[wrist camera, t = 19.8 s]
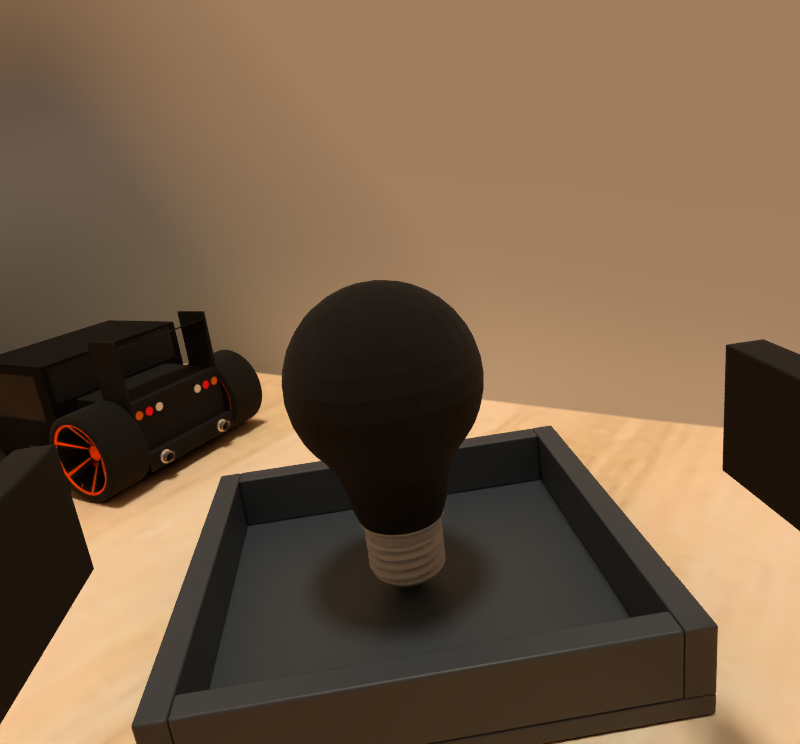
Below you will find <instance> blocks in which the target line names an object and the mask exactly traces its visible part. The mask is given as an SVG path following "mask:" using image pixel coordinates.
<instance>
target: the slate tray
mask: <svg viewBox="0 0 800 744" xmlns="http://www.w3.org/2000/svg"><path fill="white" fill-rule="evenodd" d="M441 521H442V529H443V538H444V547H445V563H444V565H443V567H442V569H441V570H440V571H439V572H438V573H437V574H436V575H435V576H434V577H433V578H431V579H430V580H428V581H426V582H424V583H423V584H421V585H420V586H419V587H417V588H414V589H404V588H401V587H399V586H394V585H390V584H387V583H385V582H383V581H381V580H380V579H378V578H377V577H376V575H375V574H374V572H373V571H372V570H371V568H370V564H369V561H370V560H369V558H368V550H367V542H366V539H365V536H366V533H365V531H364V528H362V527H361V525H360V522H359V520H358V519H357V517H356V515H355V513H354V511H353V510H352V508H351V505H350V502H349V499H348V497H347V494H346V491H345V489H344V487H343V485H342V484H341V482H340V480H339V479H338V477H337V475H336V474H335V473H334V472H333V471H332V470H331V469H330V468H329V467H328V466H327V465H326V464H325V463H324V462H322V461H319V462H312V463H306V464H299V465H293V466H286V467H280V468H273V469H267V470H260V471H254V472H247V473H242V474H234V475H227V476H222V477H221V479H220V482H219V485H218V488H217V490H216V493H215V496H214V499H213V501H212V504H211V507H210V510H209V513H208V515H207V518H206V521H205V524H204V526H203V529H202V532H201V535H200V538H199V540H198V543H197V546H196V549H195V551H194V554H193V557H192V560H191V562H190V565H189V568H188V571H187V574H186V576H185V579H184V582H183V585H182V587H181V590H180V593H179V596H178V599H177V601H176V604H175V607H174V610H173V612H172V615H171V618H170V621H169V624H168V626H167V629H166V632H165V635H164V637H163V640H162V643H161V646H160V648H159V651H158V654H157V657H156V660H155V662H154V665H153V668H152V671H151V673H150V676H149V679H148V682H147V685H146V687H145V690H144V693H143V696H142V698H141V701H140V704H139V707H138V710H137V712H136V715H135V718H134V721H133V723H132V731H133V734H134V737H135V740H136V744H543V743H549V742H554V741H560V740H565V739H571V738H576V737H582V736H588V735H593V734H599V733H604V732H610V731H616V730H621V729H627V728H632V727H638V726H643V725H649V724H655V723H660V722H666V721H671V720H677V719H682V718H688V717H694V716H699V715H705V714H710V713H714V712H715V707H716V694H715V693H716V671H717V635H718V626H717V624H716V623H715V622H714V621H713V620H712V618H711V617H710V616H709V615H708V614H707V612H706V611H705V610H704V609H703V608H702V606H701V605H700V604H699V603H698V602H697V600H696V599H695V598H694V597H693V596H692V594H691V593H690V592H689V591H688V590H687V588H686V587H685V586H684V585H683V584H682V582H681V581H680V580H679V579H678V578H677V576H676V575H675V574H674V573H673V572H672V570H671V569H670V568H669V567H668V566H667V564H666V563H665V562H664V561H663V560H662V558H661V557H660V556H659V555H658V553H657V552H656V551H655V550H654V549H653V547H652V546H651V545H650V544H649V543H648V541H647V540H646V539H645V538H644V537H643V535H642V534H641V533H640V532H639V531H638V529H637V528H636V527H635V526H634V525H633V523H632V522H631V521H630V520H629V519H628V517H627V516H626V515H625V514H624V513H623V511H622V510H621V509H620V508H619V507H618V505H617V504H616V503H615V502H614V501H613V499H612V498H611V497H610V496H609V495H608V493H607V492H606V491H605V490H604V489H603V487H602V486H601V485H600V484H599V483H598V481H597V480H596V479H595V478H594V477H593V475H592V474H591V473H590V472H589V471H588V469H587V468H586V467H585V466H584V465H583V463H582V462H581V461H580V460H579V459H578V457H577V456H576V455H575V454H574V453H573V451H572V450H571V449H570V448H569V447H568V445H567V444H566V443H565V442H564V441H563V439H562V438H561V437H560V436H559V435H558V433H557V432H556V431H555V430H554V429H553V427H552V426H545V427H539V428H533V429H527V430H520V431H514V432H507V433H501V434H494V435H488V436H481V437H475V438H468V439H464V441H463V443H462V444H461V445H460V447H459V448H458V450H457V452H456V454H455V456H454V458H453V460H452V463H451V467H450V472H449V482H448V493H447V498H446V502H445V506H444V514H443V515H442V517H441Z"/></svg>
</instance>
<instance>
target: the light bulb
mask: <svg viewBox="0 0 800 744" xmlns="http://www.w3.org/2000/svg"><path fill="white" fill-rule="evenodd" d="M282 390H283V398H284V405H285V408H286V410H287V413H288V416H289V418H290V421H291V424H292V426H293V428H294V430H295V431H296V433H297V434H298V436H299V437H300V439H301V440H302V442H303V443H304V445H305V446H306V447H307V448H308V449H309V450H310V451H311V452H312V453H313V454H314V455H315V456H316V457H317V458H318V459H320V460H321V461H322V462H324V463H325V464H326V465H327V466H328V467H329V468H330V469H331V470H332V471H333V472H334V473H335V474H336V475H337V477H338V479H339V480H340V482H341V484H342V485H343V487H344V489H345V491H346V494H347V497H348V499H349V502H350V505H351V508H352V510H353V511H354V513H355V515H356V517H357V519H358V520H359V522H360V525H361V527H362V528H364V531H365V533H366V536H365V539H366V542H367V550H368V558H369V560H370V561H369V564H370V568H371V570H372V571H373V572H374V574H375V575H376V577H377V578H378V579H380V580H381V581H383V582H385V583H387V584H390V585H394V586H399V587H401V588H404V589H414V588H417V587H419V586H420V585H421V584H423V583H424V582H426V581H428V580H430V579H431V578H433V577H434V576H435V575H436V574H437V573H438V572H439V571H440V570H441V569H442V567H443V565H444V563H445V547H444V538H443V529H442V521H441V517H442V515H443V514H444V506H445V502H446V498H447V493H448V482H449V472H450V467H451V463H452V460H453V458H454V456H455V454H456V452H457V450H458V448H459V447H460V445H461V444H462V443H463V441H464V439H465V438H466V436H467V435H468V433H469V431H470V430H471V428H472V426H473V425H474V423H475V421H476V418H477V415H478V412H479V409H480V405H481V400H482V394H483V367H482V361H481V356H480V353H479V350H478V348H477V345H476V342H475V340H474V337H473V335H472V333H471V332H470V330H469V328H468V326H467V325H466V323H465V322H464V321H463V320H462V318H461V317H460V316H459V315H458V314H457V312H456V311H455V310H454V309H453V308H452V307H450V305H448V304H447V303H446V302H445V301H443V300H442V299H441V298H440V297H438V296H436V295H434V294H433V293H431V292H429V291H427V290H425V289H423V288H420V287H418V286H415V285H412V284H409V283H404V282H400V281H388V280H373V281H367V282H362V283H356V284H353V285H350V286H348V287H345V288H342V289H340V290H338V291H336V292H334V293H333V294H331V295H329V296H327V297H326V298H325V299H323V300H322V301H321V302H320V303H319V304H317V305H316V306H315V307H314V308H313V309H312V310H310V311H309V313H308V314H307V315H306V316H305V317H304V318H303V320H302V321H301V323H300V325H299V326H298V328H297V329H296V331H295V332H294V335H293V336H292V339H291V341H290V343H289V346H288V348H287V350H286V355H285V359H284V364H283V370H282Z"/></svg>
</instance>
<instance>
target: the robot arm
mask: <svg viewBox="0 0 800 744" xmlns="http://www.w3.org/2000/svg"><path fill="white" fill-rule="evenodd" d="M723 471H725V472H726V473H727V474H728V475H730V476H731V477H732V478H733V479H735V480H736V481H737V482H738V483H740V484H741V485H742V486H744V487H745V488H746V489H747V490H749V491H750V492H751V493H752V494H754V495H755V496H756V497H757V498H759V499H760V500H761V501H762V502H764V503H765V504H766V505H767V506H769V507H770V508H771V509H773V510H774V511H775V512H776V513H778V514H779V515H780V516H781V517H783V518H784V519H785V520H786V521H788V522H789V523H790V524H791V525H793V526H794V527H795V528H796V529H798V530H799V531H800V354H797V353H795V352H792V351H790V350H788V349H785V348H783V347H780V346H778V345H775V344H773V343H770V342H768V341H766V340H756V341H749V342H742V343H736V344H729V345H726V365H725V402H724V438H723ZM93 569H94V568H93V564H92V561H91V558H90V555H89V551H88V548H87V545H86V542H85V538H84V535H83V532H82V529H81V525H80V522H79V519H78V516H77V512H76V509H75V506H74V503H73V499H72V496H71V493H70V490H69V486H68V483H67V480H66V477H65V473H64V470H63V467H62V464H61V460H60V457H59V454H58V451H57V448H56V444H52V445H45V446H38V447H31V448H25V449H18V450H14V451H13V452H11V453H10V454H9V455H8V456H7V457H6V458H5V459H3V460H2V461H1V462H0V724H1V722H2V720H3V719H4V717H5V715H6V714H7V712H8V710H9V709H10V707H11V706H12V704H13V702H14V701H15V699H16V697H17V696H18V694H19V692H20V691H21V689H22V687H23V686H24V684H25V682H26V681H27V679H28V677H29V676H30V674H31V672H32V671H33V669H34V667H35V666H36V664H37V662H38V661H39V659H40V657H41V656H42V654H43V652H44V651H45V649H46V647H47V646H48V644H49V642H50V641H51V639H52V637H53V636H54V634H55V632H56V631H57V629H58V627H59V626H60V624H61V622H62V621H63V619H64V617H65V616H66V614H67V612H68V611H69V609H70V607H71V606H72V604H73V602H74V601H75V599H76V598H77V596H78V594H79V593H80V591H81V589H82V588H83V586H84V584H85V583H86V581H87V579H88V578H89V576H90V574H91V573H92V571H93Z"/></svg>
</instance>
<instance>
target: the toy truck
mask: <svg viewBox="0 0 800 744" xmlns="http://www.w3.org/2000/svg"><path fill="white" fill-rule="evenodd" d="M178 317H179V321H180V325H181V327H178V328H181V329H182V334H183V338H184V342H185V347H186V351H187V356H188V360H189V364H188V365H183V361H182V357H181V354H180V349H179V344H178V340H177V336H176V332H175V330H176V329H178V328H175V327H174V323H173V322H161V321H110V320H109V321H106V322H103V323H99V324H96V325H93V326H90V327H87V328H83V329H80V330H77V331H74V332H71V333H67V334H64V335H61V336H58V337H55V338H52V339H48V340H45V341H42V342H39V343H36V344H32V345H29V346H26V347H23V348H19V349H16V350H13V351H10V352H6V353H3V354H0V438H1V441H2V442H0V462H1V461H2V460H3V459H5V458H6V457H7V456H8V455H9V454H10V453H11V452H13V451H14V450H18V449H25V448H31V447H38V446H45V445H52V444H56V448H57V451H58V454H59V457H60V460H61V464H62V467H63V470H64V473H65V477H66V480H67V483H68V484H69V485H70V487H71V488H72V489H73V490H74V491H76V492H77V493H78V494H79V495H81V496H82V497H84V498H85V499H87V500H90V501H93V502H102V501H104V500H106V499H108V498H110V497H112V496H113V495H115V494H117V493H119V492H121V491H122V490H124V489H126V488H128V487H129V486H131V485H133V484H135V483H136V482H138V481H140V480H141V479H143V478H144V477H145V475H146V474H147V471H149V472H154V471H156V470H157V469H159V468H161V467H163V466H165V465H166V464H168V463H170V462H172V461H173V460H175V459H177V458H179V457H180V456H182V455H184V454H186V453H188V452H189V451H191V450H193V449H195V448H196V447H198V446H200V445H202V444H204V443H205V442H207V441H209V440H211V439H212V438H214V437H216V436H218V435H219V434H221V433H224V432H226V431H228V430H230V429H232V428H234V427H235V426H237V425H239V424H241V423H242V422H244V421H246V420H248V419H249V418H251V417H253V416H254V415H255V414H256V413H257V412H258V410H259V408H260V406H261V401H262V389H261V385H260V381H259V379H258V376H257V374H256V372H255V370H254V369H253V368H252V366H251V365H250V364H249V362H248V361H247V360H246V359H245V358H243V357H242V356H241V355H239V354H237V353H235V352H233V351H229V350H220V351H217V352H215V353H213V350H212V345H211V341H210V336H209V332H208V327H207V323H206V318H205V313H204V311H178Z"/></svg>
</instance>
